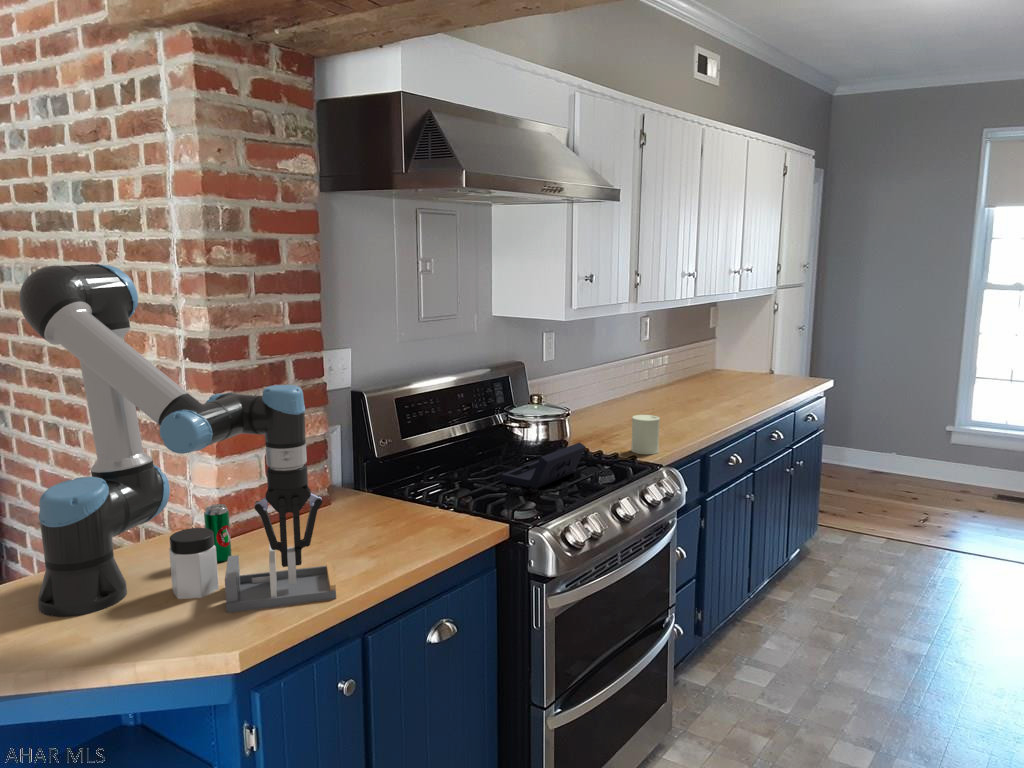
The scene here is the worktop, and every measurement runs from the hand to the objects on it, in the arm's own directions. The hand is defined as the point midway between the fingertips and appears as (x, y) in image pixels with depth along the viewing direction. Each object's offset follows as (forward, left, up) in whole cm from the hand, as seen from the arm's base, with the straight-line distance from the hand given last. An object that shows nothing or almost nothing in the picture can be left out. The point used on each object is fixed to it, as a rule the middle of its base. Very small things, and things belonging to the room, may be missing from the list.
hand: (292, 580), depth 157 cm
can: (+116, +80, -3) cm, 141 cm away
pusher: (-4, 0, -3) cm, 5 cm away
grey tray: (-2, 0, -3) cm, 3 cm away
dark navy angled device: (+73, +60, -3) cm, 95 cm away
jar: (-19, +6, -3) cm, 20 cm away
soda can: (-15, +22, -3) cm, 27 cm away
